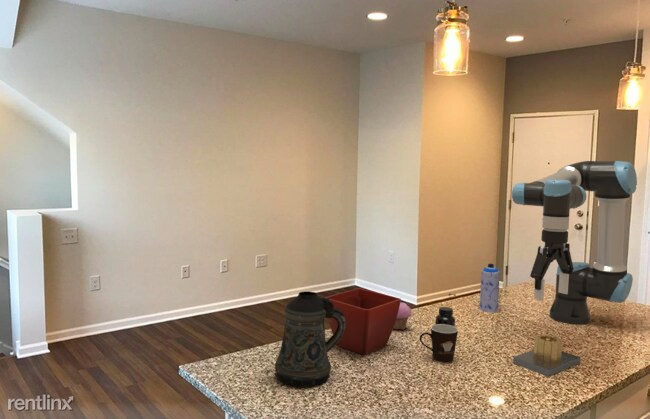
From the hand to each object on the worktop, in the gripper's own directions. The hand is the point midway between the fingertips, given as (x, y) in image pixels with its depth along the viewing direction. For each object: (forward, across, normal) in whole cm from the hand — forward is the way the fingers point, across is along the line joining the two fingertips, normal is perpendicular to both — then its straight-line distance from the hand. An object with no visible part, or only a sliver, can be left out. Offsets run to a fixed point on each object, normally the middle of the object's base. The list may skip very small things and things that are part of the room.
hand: (551, 296), depth 161 cm
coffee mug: (+22, +26, -22) cm, 41 cm away
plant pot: (+22, +40, -44) cm, 63 cm away
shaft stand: (+22, 0, 0) cm, 22 cm away
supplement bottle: (+22, +13, -31) cm, 40 cm away
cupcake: (+22, +17, -50) cm, 57 cm away
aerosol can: (+22, -33, -47) cm, 61 cm away
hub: (+20, 0, 0) cm, 20 cm away
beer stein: (+21, +69, -34) cm, 80 cm away
